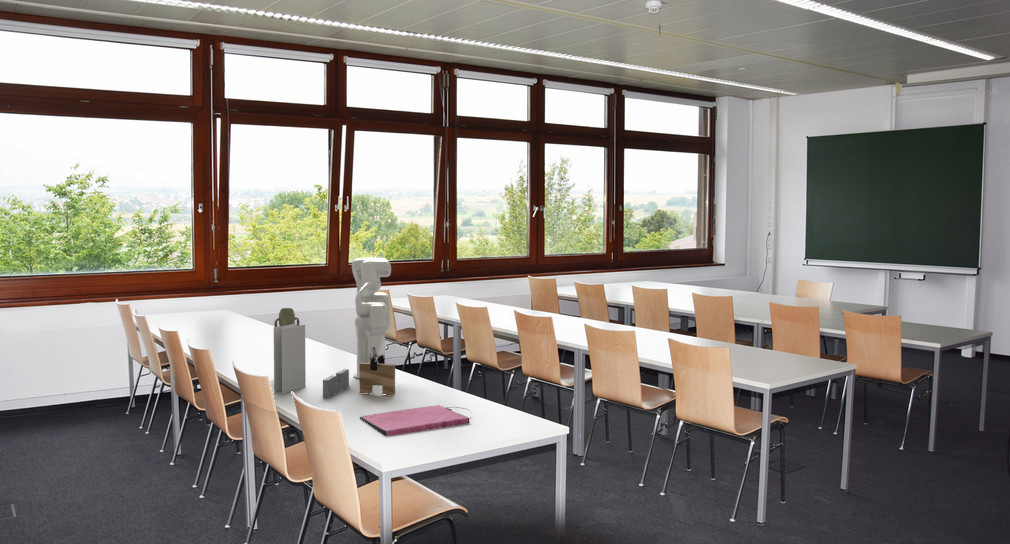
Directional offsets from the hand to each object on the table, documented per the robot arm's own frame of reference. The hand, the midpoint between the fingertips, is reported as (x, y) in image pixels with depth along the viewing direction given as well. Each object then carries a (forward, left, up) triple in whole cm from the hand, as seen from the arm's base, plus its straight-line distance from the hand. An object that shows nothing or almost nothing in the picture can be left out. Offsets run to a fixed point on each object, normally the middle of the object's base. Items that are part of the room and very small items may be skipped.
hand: (377, 368), depth 343 cm
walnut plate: (0, 0, -12) cm, 12 cm away
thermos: (-19, -54, -12) cm, 59 cm away
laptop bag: (+37, +31, -13) cm, 50 cm away
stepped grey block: (0, -20, -12) cm, 24 cm away
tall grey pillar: (+2, -42, -12) cm, 44 cm away
